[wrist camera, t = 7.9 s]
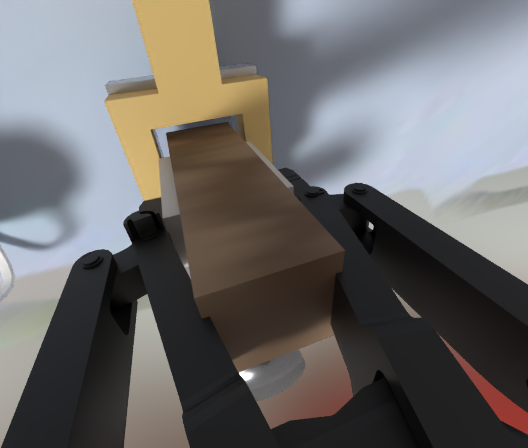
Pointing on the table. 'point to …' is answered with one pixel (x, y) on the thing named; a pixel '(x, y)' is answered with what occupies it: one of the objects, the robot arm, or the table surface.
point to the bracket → (183, 88)
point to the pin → (251, 248)
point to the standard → (258, 377)
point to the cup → (6, 275)
